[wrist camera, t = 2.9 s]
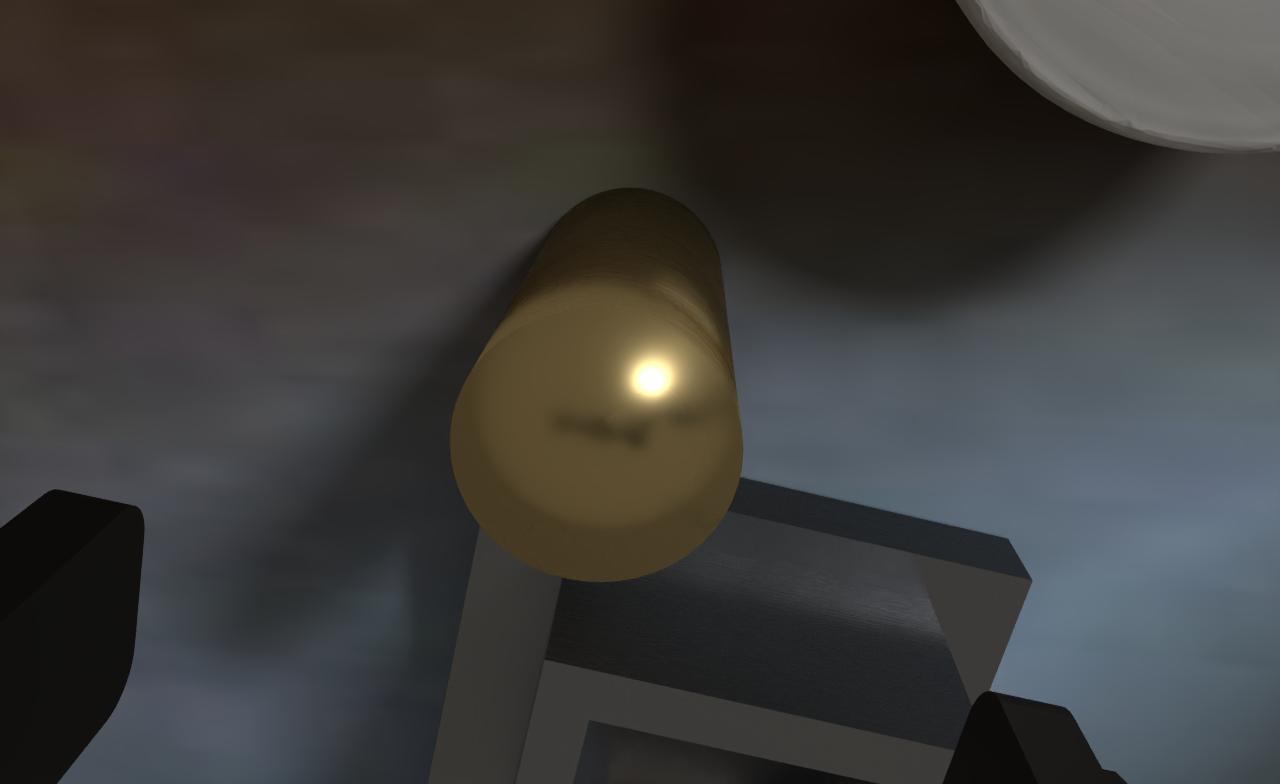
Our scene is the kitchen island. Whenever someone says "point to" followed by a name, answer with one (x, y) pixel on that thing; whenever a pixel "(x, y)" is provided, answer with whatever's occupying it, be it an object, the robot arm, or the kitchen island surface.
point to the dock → (735, 655)
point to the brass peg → (606, 397)
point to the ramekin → (1148, 65)
